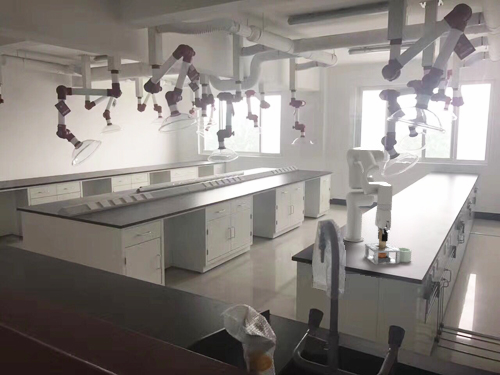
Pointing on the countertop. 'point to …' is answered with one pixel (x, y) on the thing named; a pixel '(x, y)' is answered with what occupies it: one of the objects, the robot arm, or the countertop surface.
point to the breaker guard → (386, 250)
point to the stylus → (381, 243)
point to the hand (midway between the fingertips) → (382, 239)
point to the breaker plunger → (381, 255)
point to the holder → (405, 255)
